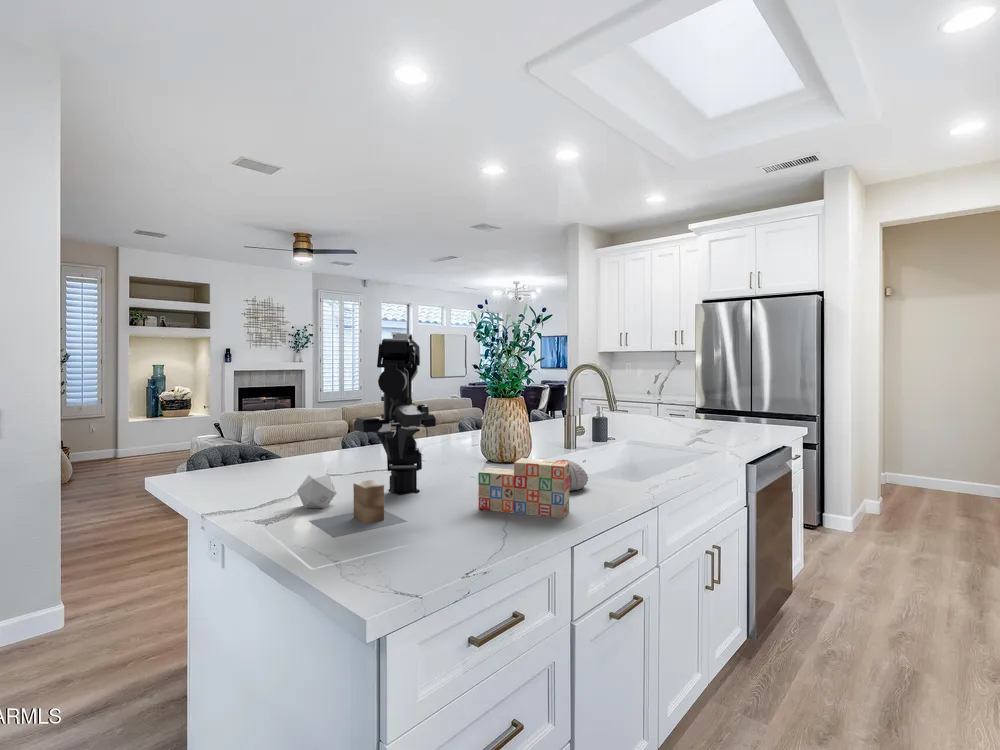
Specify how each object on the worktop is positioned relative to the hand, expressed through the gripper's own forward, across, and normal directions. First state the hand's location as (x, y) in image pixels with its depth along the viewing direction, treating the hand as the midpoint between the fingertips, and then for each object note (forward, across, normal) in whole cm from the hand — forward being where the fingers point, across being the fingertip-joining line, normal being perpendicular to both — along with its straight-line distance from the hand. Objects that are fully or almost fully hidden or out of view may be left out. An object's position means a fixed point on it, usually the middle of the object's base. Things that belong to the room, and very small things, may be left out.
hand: (396, 459), depth 124 cm
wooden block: (+13, -7, 0) cm, 15 cm away
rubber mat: (+13, -10, 0) cm, 16 cm away
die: (+13, -12, +18) cm, 25 cm away
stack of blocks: (+13, +26, -16) cm, 33 cm away
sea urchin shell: (+13, +50, -6) cm, 52 cm away
